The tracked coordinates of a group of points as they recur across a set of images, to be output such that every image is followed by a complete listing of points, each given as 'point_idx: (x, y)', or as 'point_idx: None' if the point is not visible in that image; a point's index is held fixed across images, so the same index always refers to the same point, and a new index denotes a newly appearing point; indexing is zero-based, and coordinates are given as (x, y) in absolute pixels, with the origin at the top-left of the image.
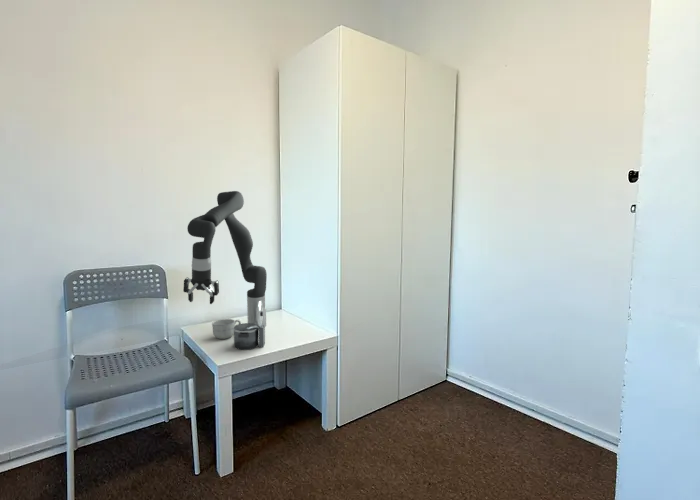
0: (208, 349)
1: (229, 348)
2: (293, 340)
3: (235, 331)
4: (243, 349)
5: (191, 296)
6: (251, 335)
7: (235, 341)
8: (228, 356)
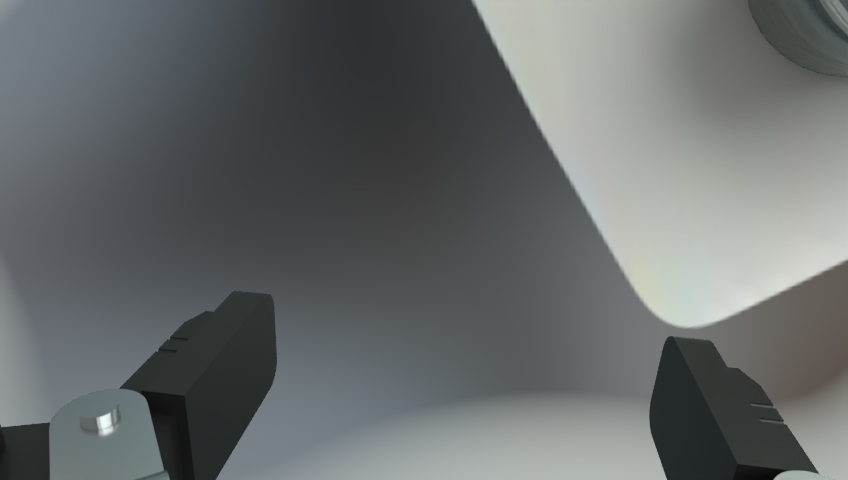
0: (529, 55)
1: (706, 36)
2: None
3: (838, 21)
4: (843, 75)
5: (224, 446)
6: None
7: (787, 26)
8: (718, 210)
